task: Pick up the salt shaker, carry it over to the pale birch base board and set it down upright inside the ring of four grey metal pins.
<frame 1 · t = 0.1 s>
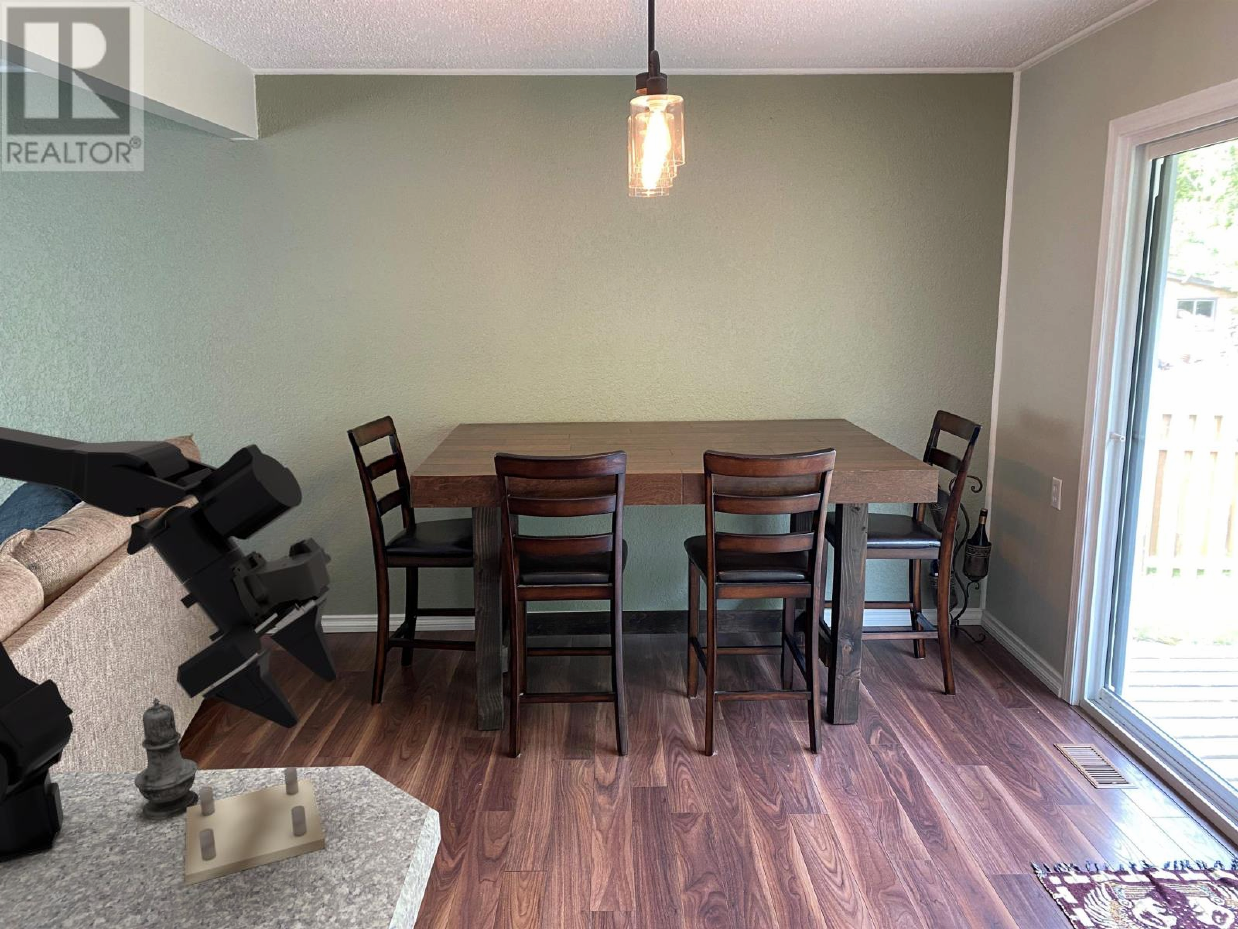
hand: (315, 701, 81), 15 cm above the countertop, tool tilted 30°, fingers open, 9 cm apart
pin board: (254, 831, 87), on the countertop
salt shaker: (171, 806, 92), on the countertop
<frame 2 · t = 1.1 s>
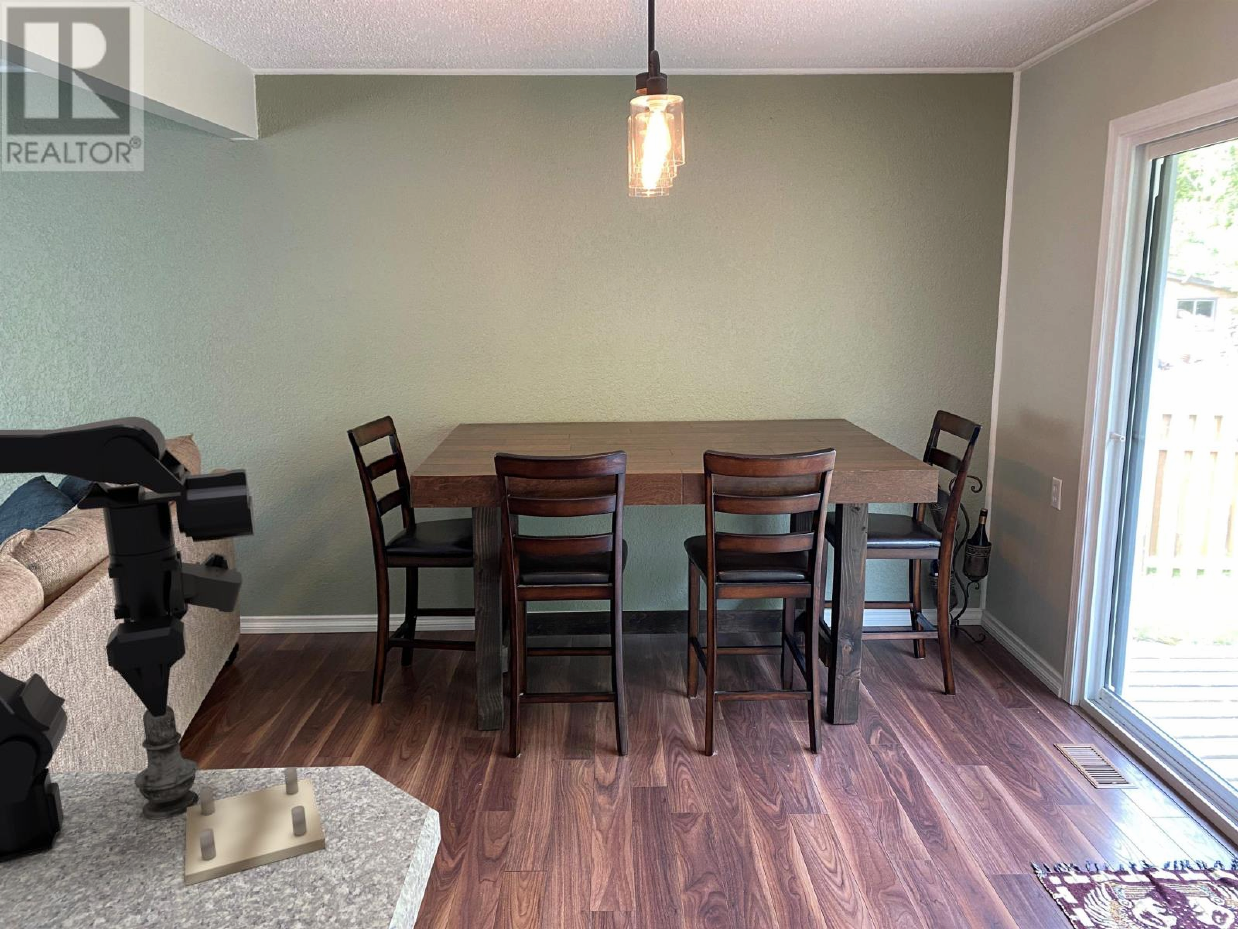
hand: (162, 696, 89), 13 cm above the countertop, tool pointing down, fingers open, 9 cm apart
nothing on the countertop moved.
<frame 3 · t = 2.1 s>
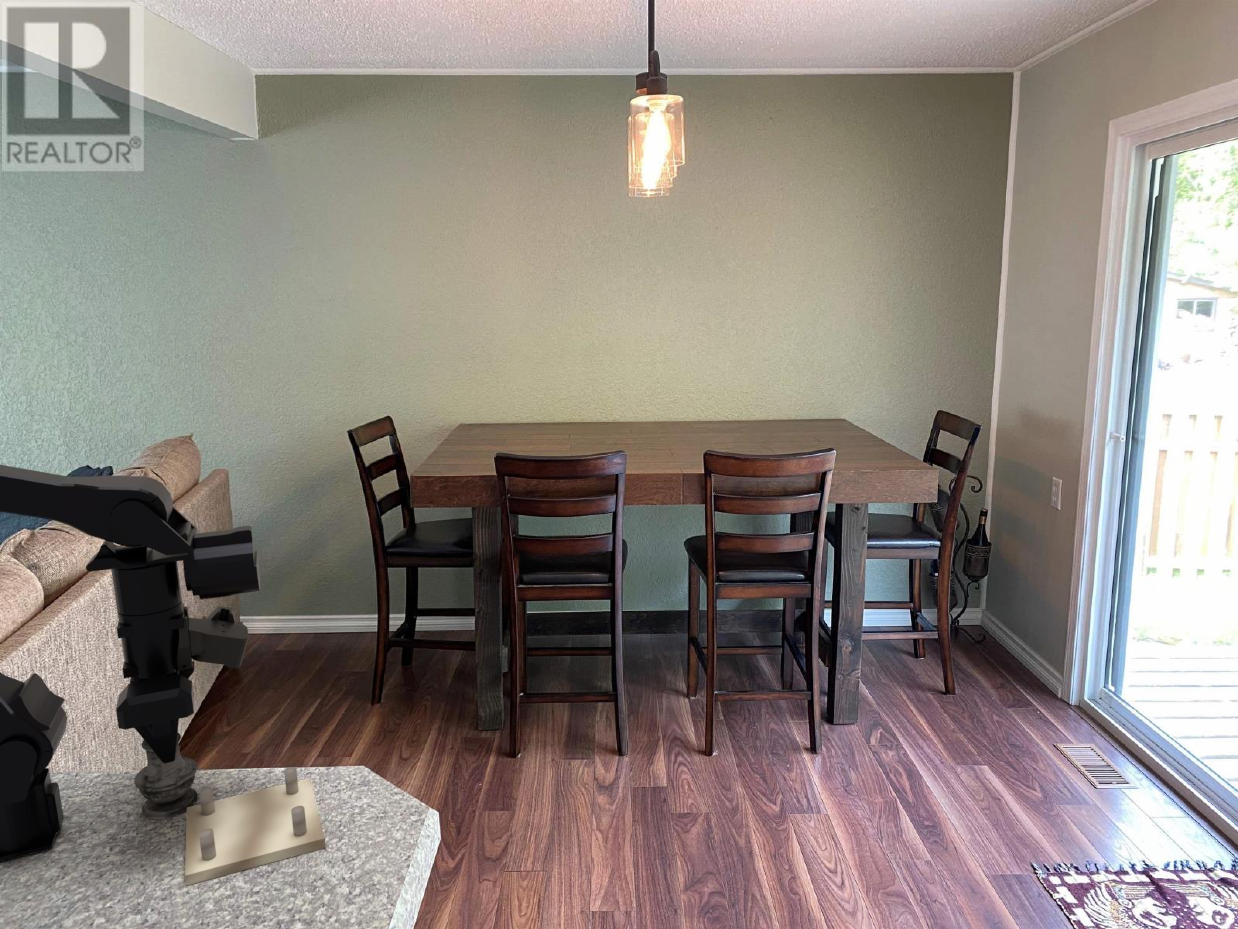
hand: (169, 750, 90), 7 cm above the countertop, tool pointing down, fingers open, 5 cm apart
nothing on the countertop moved.
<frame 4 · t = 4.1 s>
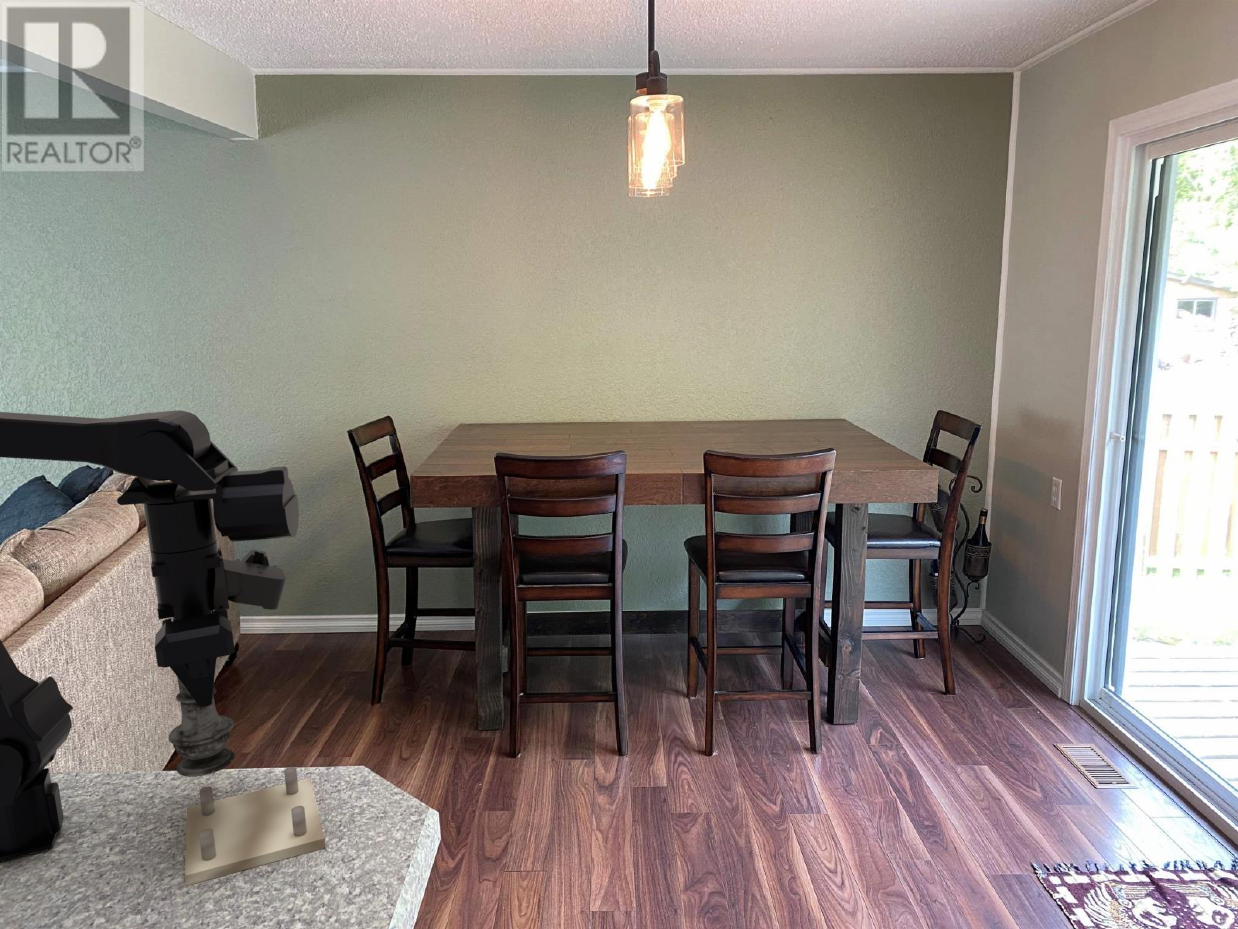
hand: (205, 697, 86), 13 cm above the countertop, tool pointing down, fingers closed on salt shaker, 4 cm apart
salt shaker: (206, 764, 87), point 6 cm above the countertop, touching gripper
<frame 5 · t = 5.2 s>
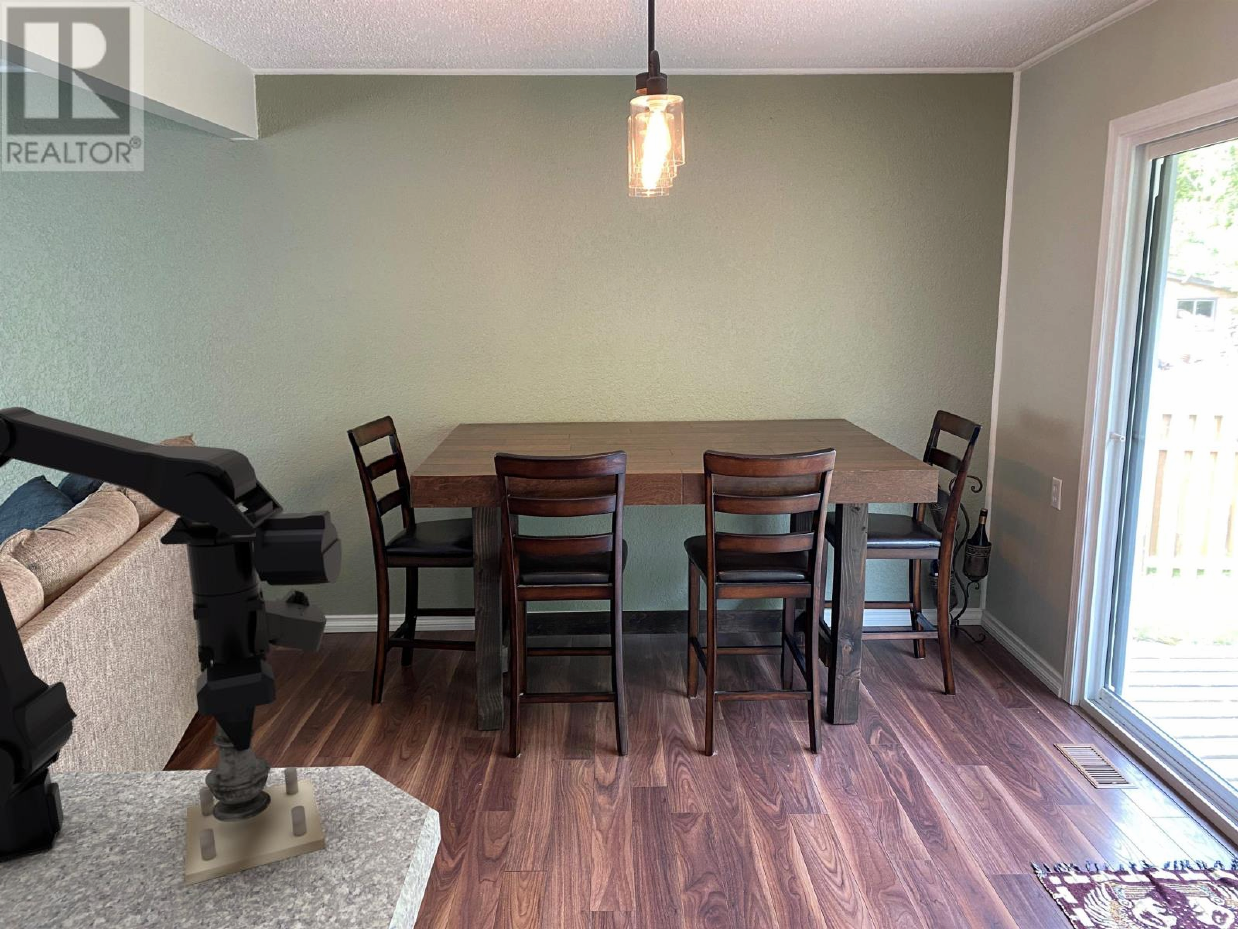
hand: (242, 740, 85), 10 cm above the countertop, tool pointing down, fingers closed on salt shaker, 4 cm apart
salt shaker: (242, 807, 86), point 3 cm above the countertop, touching gripper
when the fingers open (9 cm above the countertop, at t = 6.1 s): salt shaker stays where it is, resting on pin board.
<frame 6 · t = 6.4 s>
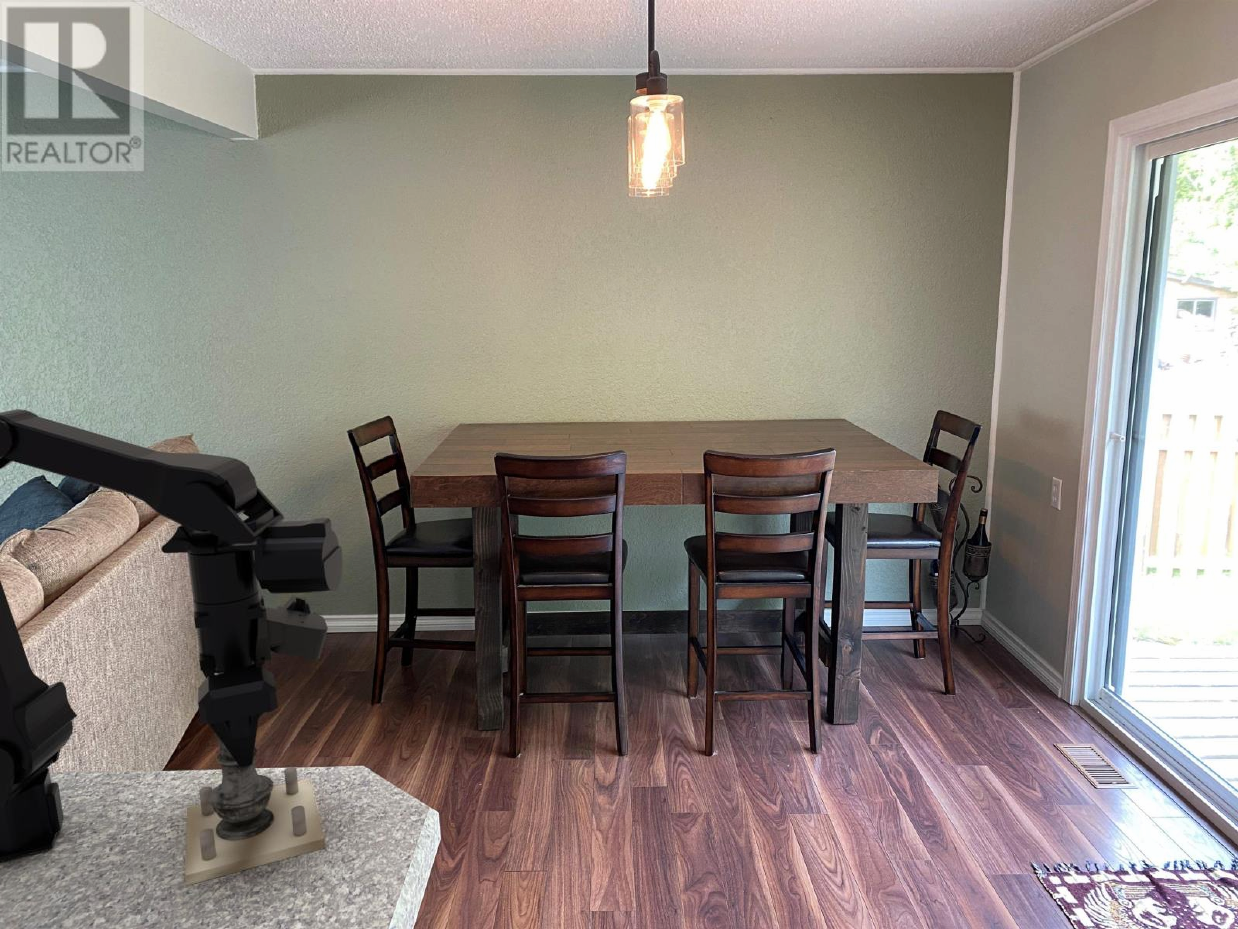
hand: (244, 747, 85), 9 cm above the countertop, tool pointing down, fingers open, 7 cm apart
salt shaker: (245, 826, 86), point 1 cm above the countertop, touching pin board
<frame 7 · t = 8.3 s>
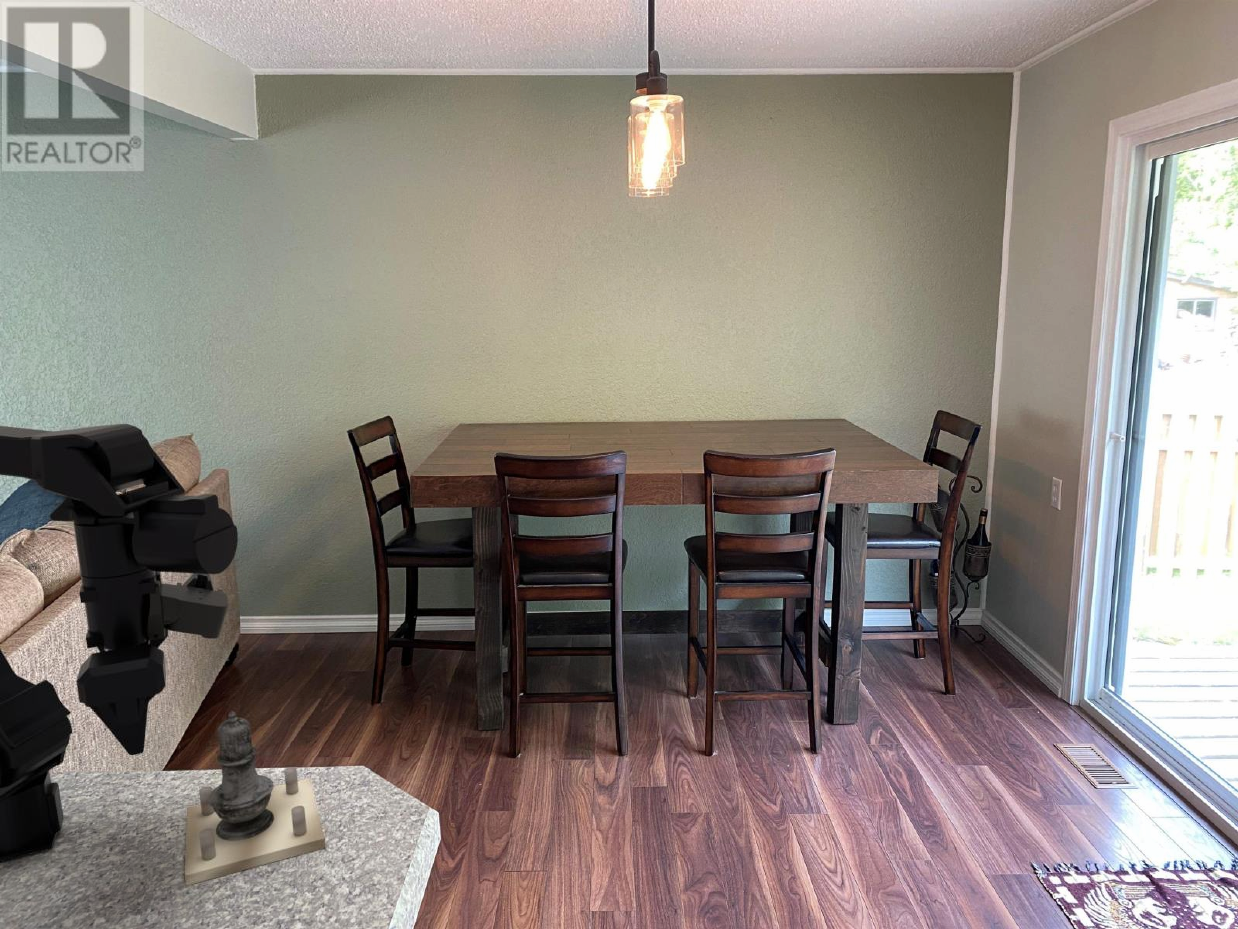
hand: (139, 730, 81), 13 cm above the countertop, tool pointing down, fingers open, 9 cm apart
nothing on the countertop moved.
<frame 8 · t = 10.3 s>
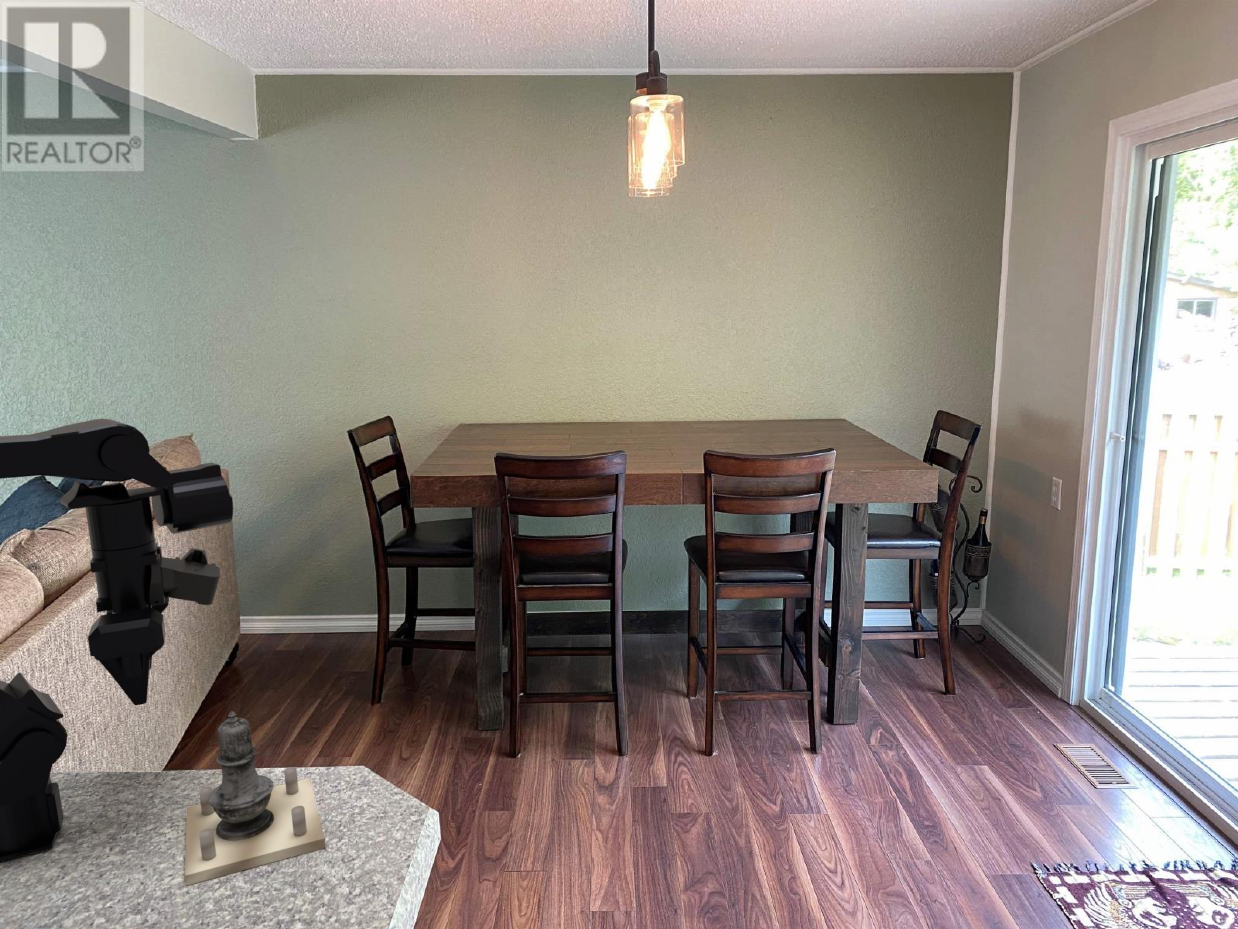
hand: (143, 686, 92), 12 cm above the countertop, tool pointing down, fingers open, 9 cm apart
nothing on the countertop moved.
at the end: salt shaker 0.7 cm off-centre on the pin board, point 0.8 cm above the pin board's base; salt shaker tilted 0°; the gripper is holding nothing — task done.
